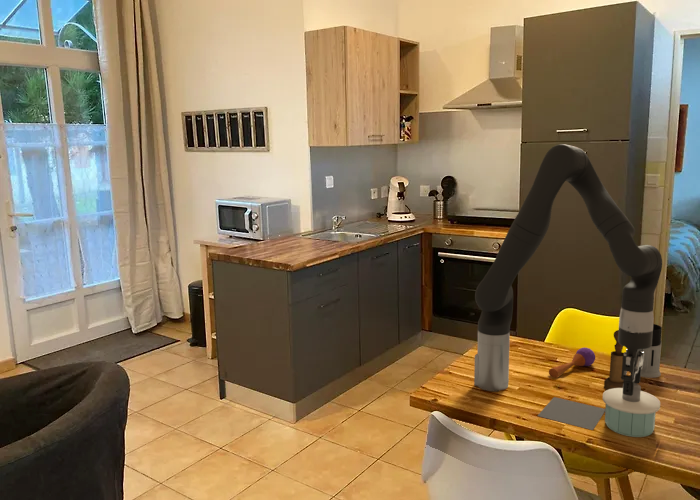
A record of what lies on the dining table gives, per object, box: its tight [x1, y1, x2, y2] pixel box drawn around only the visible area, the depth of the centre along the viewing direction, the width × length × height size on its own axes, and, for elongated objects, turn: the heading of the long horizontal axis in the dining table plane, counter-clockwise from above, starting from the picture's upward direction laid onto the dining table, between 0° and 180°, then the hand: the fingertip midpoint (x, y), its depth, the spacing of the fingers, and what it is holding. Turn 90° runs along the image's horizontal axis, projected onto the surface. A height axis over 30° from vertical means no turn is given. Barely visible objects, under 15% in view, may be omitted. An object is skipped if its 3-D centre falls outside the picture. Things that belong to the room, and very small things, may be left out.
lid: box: [602, 383, 661, 414], centre depth 145 cm, size 13×13×4 cm
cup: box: [604, 403, 657, 438], centre depth 146 cm, size 11×11×7 cm
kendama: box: [548, 347, 596, 379], centre depth 184 cm, size 6×6×20 cm
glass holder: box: [640, 323, 663, 379], centre depth 177 cm, size 9×14×15 cm, turn 154°
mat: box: [537, 396, 606, 431], centre depth 154 cm, size 14×14×1 cm
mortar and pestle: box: [603, 329, 624, 391], centre depth 167 cm, size 7×6×18 cm
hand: (631, 388), depth 144 cm, fingers open, 8 cm apart
